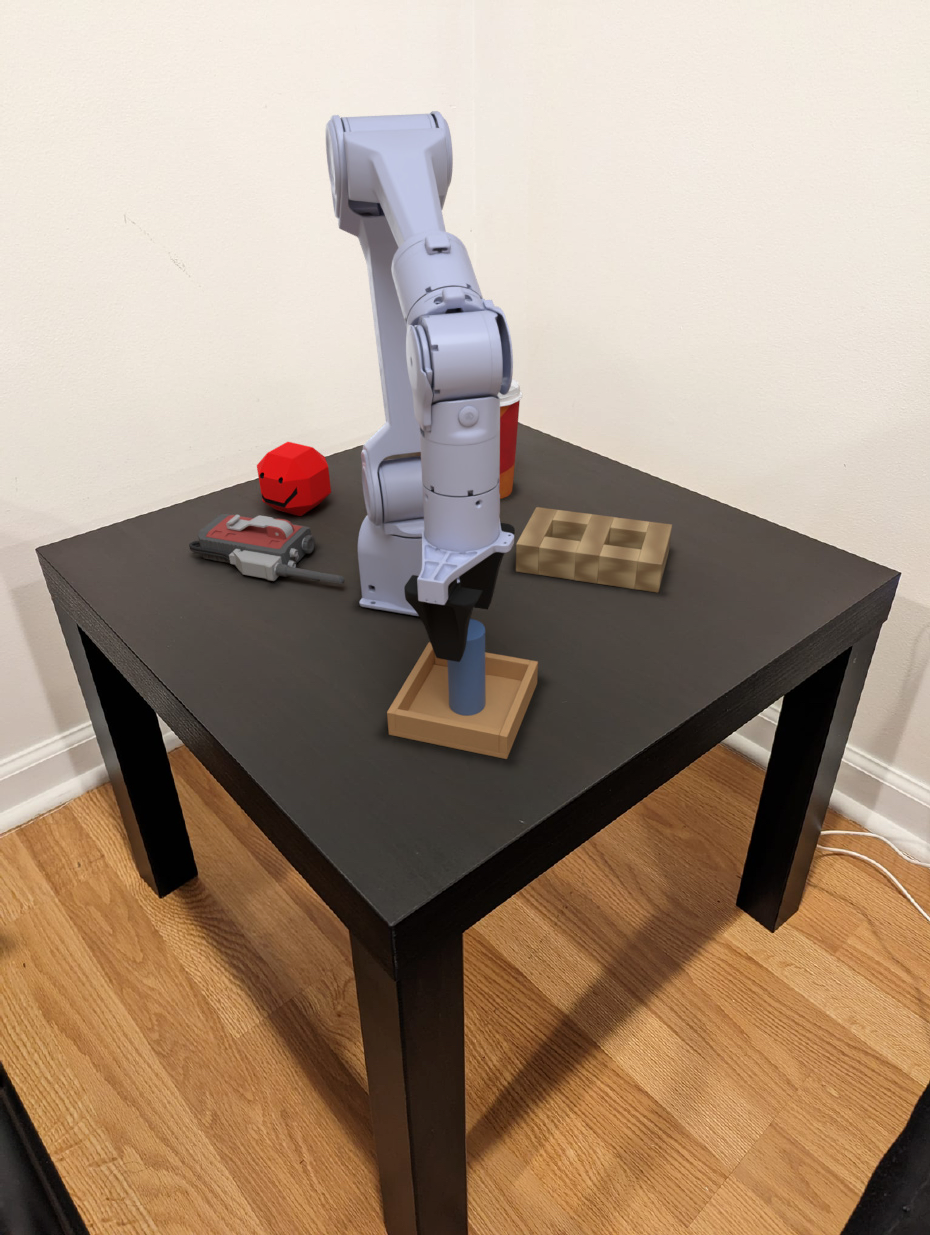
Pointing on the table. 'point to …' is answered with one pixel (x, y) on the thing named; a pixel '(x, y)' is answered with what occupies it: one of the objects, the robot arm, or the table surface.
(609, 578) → the peg block
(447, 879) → the table surface
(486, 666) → the tray
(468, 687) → the peg
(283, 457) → the ball
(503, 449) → the paper cup
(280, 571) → the walkie-talkie
